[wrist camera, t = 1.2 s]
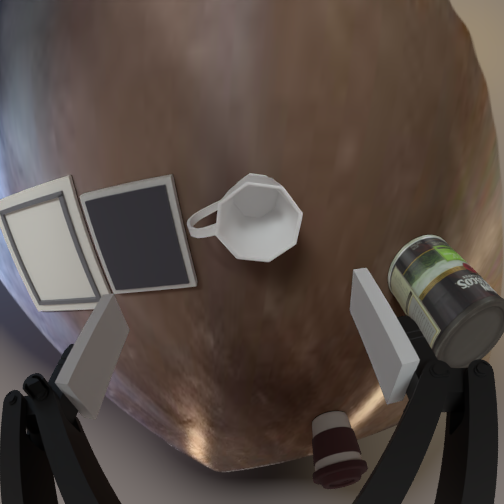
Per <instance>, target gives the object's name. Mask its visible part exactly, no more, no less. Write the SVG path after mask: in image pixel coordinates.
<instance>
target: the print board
mask: <svg viewBox="0 0 504 504" xmlns="http://www.w3.org/2000/svg"><path fill="white" fill-rule="evenodd" d="M0 227H1V230H2V233H3V236H4V238H5V241H6V243H7V246H8V248H9V251H10V253H11V256H12V258H13V260H14V263H15V265H16V267H17V269H18V272H19V274H20V276H21V278H22V280H23V282H24V284H25V286H26V288H27V290H28V292H29V294H30V296H31V298H32V300H33V302H34V304H35V306H36V308H37V310H38V311H63V310H87V309H94V308H95V307H96V305H97V303H98V302H99V300H100V298H101V297H102V295H103V294H111V291H110V289H109V286H108V284H107V281H106V279H105V277H104V274H103V271H102V269H101V266H100V264H99V261H98V258H97V256H96V253H95V250H94V247H93V245H92V242H91V239H90V236H89V233H88V230H87V227H86V224H85V221H84V218H83V215H82V212H81V208H80V205H79V202H78V198H77V195H76V191H75V188H74V184H73V180H72V176H71V175H68V176H65V177H62V178H59V179H56V180H52V181H49V182H46V183H43V184H41V185H38V186H35V187H32V188H29V189H26V190H24V191H21V192H18V193H16V194H13V195H10V196H8V197H5V198H3V199H0Z"/></svg>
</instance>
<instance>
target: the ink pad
mask: <svg viewBox="0 0 504 504" xmlns="http://www.w3.org/2000/svg"><path fill="white" fill-rule="evenodd" d="M79 197H80V200H81V204H82V207H83V210H84V214H85V217H86V220H87V223H88V226H89V229H90V232H91V235H92V238H93V241H94V244H95V247H96V250H97V252H98V255H99V258H100V260H101V263H102V266H103V268H104V271H105V273H106V276H107V278H108V281H109V283H110V286H111V288H112V291H113V293H114V294H119V293H131V292H143V291H154V290H165V289H176V288H186V287H196V286H197V282H198V281H197V277H196V273H195V269H194V265H193V261H192V257H191V253H190V249H189V245H188V241H187V237H186V232H185V228H184V224H183V219H182V215H181V210H180V206H179V201H178V196H177V192H176V187H175V182H174V177H173V174H170V175H165V176H159V177H154V178H149V179H144V180H139V181H134V182H130V183H125V184H121V185H116V186H112V187H107V188H103V189H99V190H95V191H91V192H87V193H83V194H82V195H80V196H79Z"/></svg>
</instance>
